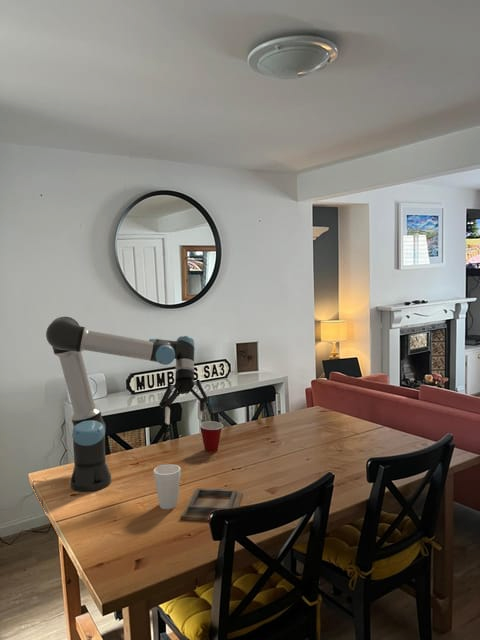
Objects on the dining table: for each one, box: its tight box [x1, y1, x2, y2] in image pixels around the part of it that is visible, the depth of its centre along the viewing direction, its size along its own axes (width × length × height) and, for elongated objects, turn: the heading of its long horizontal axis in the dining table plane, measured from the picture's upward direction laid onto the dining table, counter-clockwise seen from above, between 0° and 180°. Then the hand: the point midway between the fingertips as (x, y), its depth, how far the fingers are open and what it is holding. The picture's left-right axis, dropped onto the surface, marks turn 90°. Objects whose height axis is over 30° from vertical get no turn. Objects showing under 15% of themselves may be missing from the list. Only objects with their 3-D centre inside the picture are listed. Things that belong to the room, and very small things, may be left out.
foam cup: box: [153, 463, 182, 510], centre depth 184 cm, size 10×9×13 cm
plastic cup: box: [199, 420, 224, 453], centre depth 237 cm, size 11×11×12 cm
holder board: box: [180, 488, 244, 522], centre depth 182 cm, size 18×20×3 cm
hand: (183, 421), depth 205 cm, fingers open, 13 cm apart
